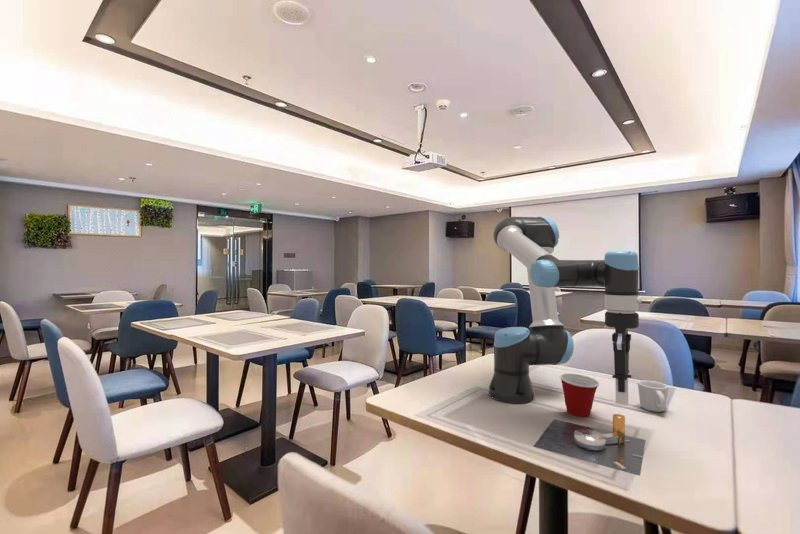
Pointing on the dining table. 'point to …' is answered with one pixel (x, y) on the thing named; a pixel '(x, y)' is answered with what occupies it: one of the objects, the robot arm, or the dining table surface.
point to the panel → (612, 456)
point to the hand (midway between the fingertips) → (622, 403)
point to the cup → (652, 395)
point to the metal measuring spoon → (601, 435)
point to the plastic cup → (578, 393)
